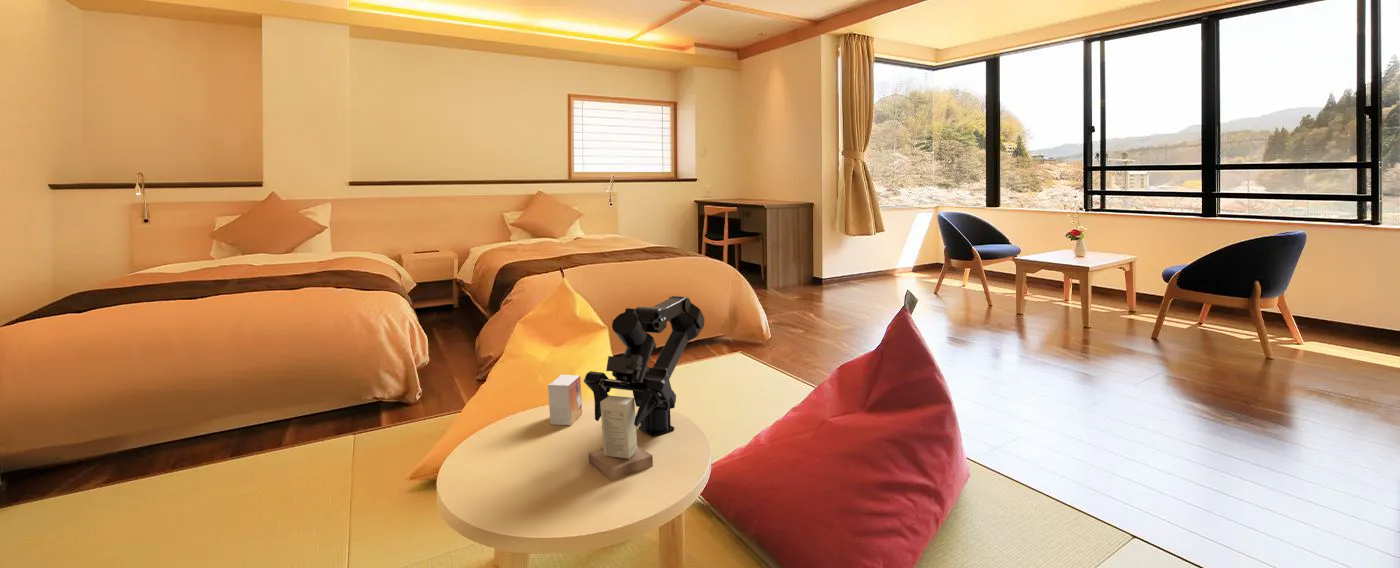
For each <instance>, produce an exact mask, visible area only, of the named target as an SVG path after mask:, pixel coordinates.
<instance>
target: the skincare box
mask: <svg viewBox="0 0 1400 568" xmlns="http://www.w3.org/2000/svg"><path fill="white" fill-rule="evenodd" d="M600 406H601V417H600V420H601V432H602V445H603V447H602V448H604V455H605V456H612V457H619V458H628V459H629V458H630V457H631V456H633V455H634V454H635V453H636V452H637V446H638V439H637V438H638V437H637V427H636V426H635V425H634V422H635V417H636V404H635V400H634V397H629V396H618V395H609V396H608V397H607V398H605V399H604V400H602V401H601V402H600Z"/></svg>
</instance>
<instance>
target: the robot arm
mask: <svg viewBox="0 0 1400 568" xmlns="http://www.w3.org/2000/svg"><path fill="white" fill-rule="evenodd" d="M668 322H669V324H670V327H671V333H670V334H669V337H668V338H667V340H666V342H665V344H664V346H663V347H662V350H661V351H660V353H659V355H658V356H657V358H656V361H655V362H654V364H653V366H652V367H650V366H649V362H650V359H651V355H652V353H653V350H656V349H657V344H656V341H655V338H654V337H653V336H652V335H651V334H661V333H662V332H664V330H665V329H666V328H667V323H668ZM704 326H705V316H704V314H703V312H702V310H701V309H700V308H699V307H698V306H697V305H695V304H694V303H693V302H692V301H691V299H690V298H689V297H687V296H679V295H678V296H677V295H671V296H669V297H668V298H667V299H666V300H664V301H661V302H659V303H658V304H656V305H654V306H638V307H636V308H630V307H629V308H628V307H626V308H625V311H624V312H621V313H620V314H618V315H616V317H615V318H614V319H613V320H612V323H611V328H612V331H613V332H614V333H615V335H616V336H617V337H618V339H619V340H620V341H621V343H622V344H623V345H624V346H625V347H626V349H625V351H624V353H623V354H622V353H621V355H620V356H611V355H610V356H608V358H607V363H606V369H605V371H606V372H611V375H612V376H613V377H614V378H615V379H612V378H609V377H608V376H607V375H606V373H604V372H601V371H600V372H599V371H588V372H587V373H586V374H585V377H584V379H583V383H584V384H585V385H586V386H587V387H588V388H589V389H590V390H591V391H592V393H593V397H594V400H593V401H594V420H595V421H596V422H599V420H601V406H600V402H601V401H602V400H604V399H605V398H607V397H608V396H610V394H608V393H610V391H611V389H616V390H624V391H632V395H633V396H632V397H633V398H634V403H635V408H636V407H637V408H638V409H637V412H636V414H635V422H634V425H635V426H636V428H637V427H638V429H639V430H640V429H641V430H640V431H642V430H643V431H642V432H644V433H646V434H647V433H648V434H647V435H649V436H650V437H657V436H659V434H660V435H662V434H661V433H663V434H665V432H666V433H669V432H672V431H674V430H675V427H674V426H672V425H671V424H672V423H671V410H673V409H675V407H676V402H677V394H676V393H675V392H674V390H673V388H672V385H671V381H670V379H671V377H672V375H673V373H674V372H675V369H676V366H677V364H678V362H679V361H680V358H681V357H682V354H683V353H684V351H685V348H686V346H687V344H688V343H689V342H690V341H692V340H694V339H696V338H698V336H699V334H701V331H702V330H703V329H704ZM649 333H650V334H649ZM671 430H672V431H671ZM668 431H669V432H668ZM656 435H657V436H656Z"/></svg>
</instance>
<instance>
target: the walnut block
mask: <svg viewBox="0 0 1400 568" xmlns="http://www.w3.org/2000/svg"><path fill="white" fill-rule="evenodd" d="M653 457H654V456H653V454H651V453H649V452H648V451H647V450H644V448H642V447H640V446H639V445H637V452H636V453H635V454H634V455H633V456H631V457H630V458H629V459H628V458H619V457H612V456H605V455H604V447H601V448H599V449H595V450H592V451H588V463H589V464H590V465H591V466H592V467H594V468H595V469H596V470H598V471H599V472H600V473H601V474H602V475H604V476H605V477H606V478H608V479H609V480H610V481H615V480H618V479H621V478H623V477H626V476H629V475H632V474H634V473H638V472H641V471H643V470H645V469H650V468H652V467H653V466H654V461H653Z"/></svg>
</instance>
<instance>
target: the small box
mask: <svg viewBox="0 0 1400 568" xmlns="http://www.w3.org/2000/svg"><path fill="white" fill-rule="evenodd" d="M581 383H582V382H581V376H580V375H576V374H575V375H574V374H560V375H559V376H557V378H555V379H554V380H553V381H551V382H550V383H549V384H547V391H548V392H547V394H548V406H549V420H550V421H549V422H550V425H554V426H555V425H557V426H572V425H573V423H575V421H577V420H578V419H579V417H581V416H582V415H583V404H582V403H583V402H582V400H583V399H582V384H581Z"/></svg>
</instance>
